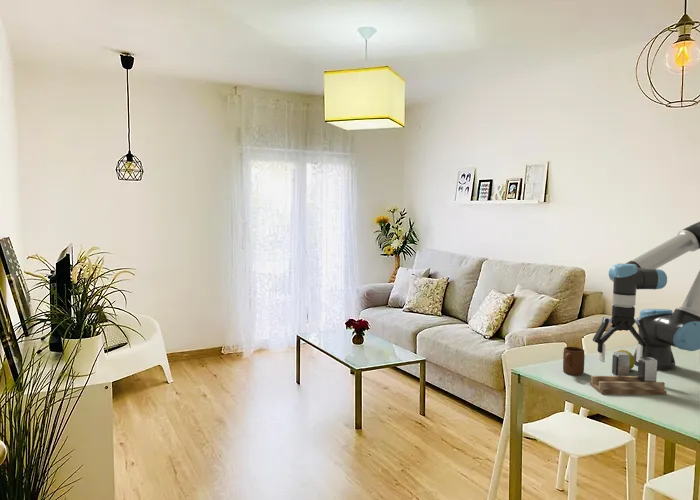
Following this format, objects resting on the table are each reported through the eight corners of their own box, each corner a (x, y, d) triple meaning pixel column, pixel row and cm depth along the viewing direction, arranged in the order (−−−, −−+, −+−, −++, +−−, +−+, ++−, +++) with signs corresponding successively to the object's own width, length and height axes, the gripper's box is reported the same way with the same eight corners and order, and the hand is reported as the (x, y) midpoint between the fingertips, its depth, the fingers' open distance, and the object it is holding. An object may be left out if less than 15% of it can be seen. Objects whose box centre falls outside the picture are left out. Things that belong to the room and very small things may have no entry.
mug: (576, 380, 197) (576, 355, 196) (555, 375, 202) (556, 351, 201) (586, 372, 206) (587, 348, 205) (566, 368, 211) (567, 345, 210)
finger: (649, 384, 188) (651, 357, 187) (656, 388, 184) (657, 360, 183) (636, 384, 188) (638, 357, 187) (642, 388, 184) (643, 360, 183)
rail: (651, 385, 191) (651, 375, 191) (666, 394, 181) (667, 384, 181) (589, 384, 192) (589, 374, 191) (601, 394, 182) (601, 383, 181)
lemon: (614, 365, 215) (614, 346, 214) (635, 368, 210) (636, 349, 210) (609, 372, 206) (610, 352, 205) (632, 376, 201) (633, 355, 201)
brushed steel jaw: (616, 381, 195) (617, 354, 194) (611, 377, 199) (612, 351, 198) (628, 381, 195) (629, 354, 194) (623, 377, 199) (624, 351, 198)
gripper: (652, 304, 198) (649, 359, 200) (585, 302, 199) (582, 357, 201) (663, 308, 191) (659, 365, 192) (593, 306, 192) (590, 363, 193)
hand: (620, 361), depth 197 cm, fingers open, 13 cm apart
